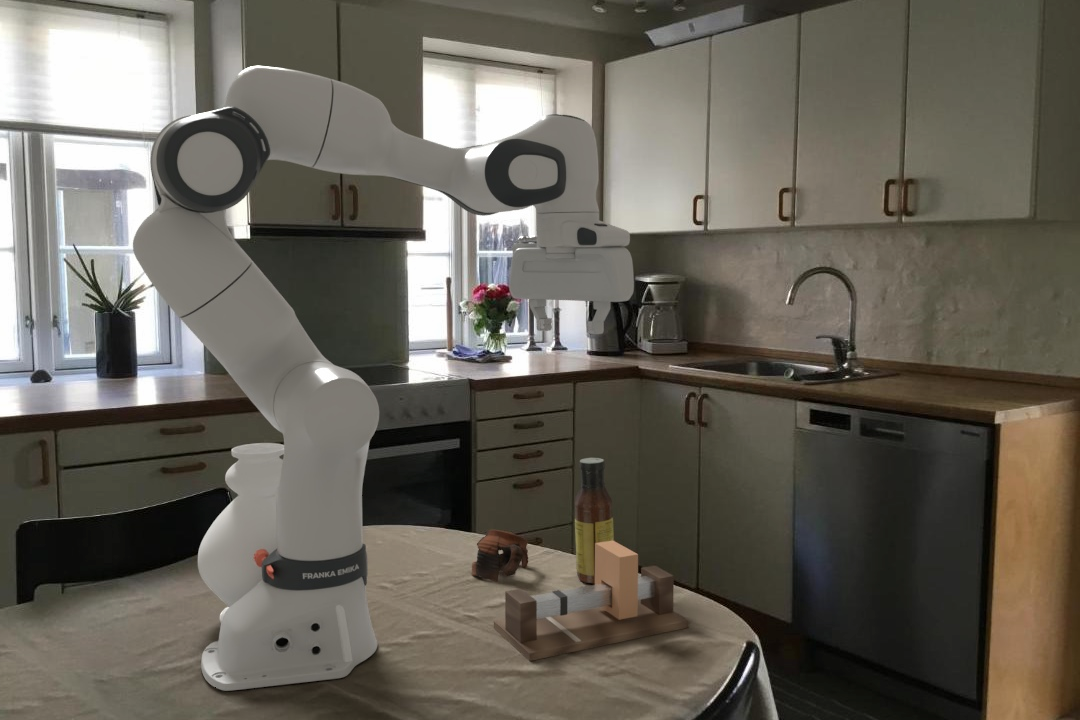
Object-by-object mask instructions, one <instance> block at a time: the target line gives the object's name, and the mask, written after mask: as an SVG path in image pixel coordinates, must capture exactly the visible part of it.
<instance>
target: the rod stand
mask: <svg viewBox="0 0 1080 720" xmlns="http://www.w3.org/2000/svg"><path fill="white" fill-rule="evenodd" d="M674 578H675V577H674V575H673V574H671V573H670V572H668V571H666V570H664V569H662V568H660V567H658V566H657V565H655V564H654V565H650V566H643V567H641V568H640V576H638V609H637V616H635V617H630V618H625V619H620V620H619V619H617V618H616V617H614V616H613V615H612V614H610V613H609V612H607V611H606V610H604V609H603V608H601V607H604V606H609V605H612V586H610V585H608V584H607V583H602V584H597V585H595V584H592V585H586V586H581V587H575V588H568V589H563V590H559V589H557V590H553V591H552V592H547V593H542V594H536V595H530V594H528V593H527V592H526V591H525V590H523V589H522V588H518V589H517V588H516V589H513V590H512V589H511V590H506V591H505V592H504V594H505V595H504V599H505V604H504V605H505V607H504V609H505V611H504V612H505V614H504V615H505V616H504V617H505V618H503V619H502V618H501V619H497V620H493V629H494V630H496V632H498V633H499V634H500V635H501V636H502V637H503V638H504V639H505V640H506V641H507V642H509V643H510V644H511V645H512V646H513V647H514V649H516V650H517V651H518V652H519V653H520V654H522V655H523V656H524V657H525V659H527V661H529V662H530V661H535V660H541V659H546V658H551V657H554V656H559V655H565V654H569V653H574V652H578V651H583V650H589V649H593V648H597V647H601V646H607V645H612V644H616V643H621V642H626V641H631V640H635V639H640V638H645V637H649V636H654V635H658V634H659V635H660V634H663V633H669V632H674V631H679V630H682V629H687V628H689V624H690V621H689V619H687V618H685V617H683V616H682V615H680V614H679V613H677V612H676V611H674V589H675V588H674V582H675V581H674V580H675V579H674Z"/></svg>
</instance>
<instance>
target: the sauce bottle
mask: <svg viewBox="0 0 1080 720" xmlns="http://www.w3.org/2000/svg"><path fill="white" fill-rule="evenodd" d="M605 468H606V465H605V459H603V458H600V457H586V458H582V459H580V460H579V469H580V489H579V490H578V492H577V494H576V496H575V497H574V513H575V514H574V528H575V529H574V530H575V531H574V532H575V536H574V537H575V558H576V559H575V561H576V562H575V563H576V564H575V565H576V567H575V568H576V573H577V578H578V580H579V581H581V582H582V583H585V584H592V585H595V543H599V542H606V541H612V540H613V541H615V539H614V537H615V536H614V516H613V501H612V498H611V496H610V495H609V492H608V490H607V488H606V486H605V484H606V483H605V475H604V474H605V471H604V470H605Z"/></svg>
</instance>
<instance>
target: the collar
mask: <svg viewBox="0 0 1080 720" xmlns="http://www.w3.org/2000/svg"><path fill="white" fill-rule="evenodd" d="M638 577H639V554H638V553H636V552H634V551H633V550H631V549H629V548H627V547H626V546H623V545H622V544H620V543H619V542H616V541H615V540H614V541H613V540H612V541H606V542H599V543H595V584H594V585H597V584H602V583H607V584H608V585H610V586H612V605H609V606H604V607H601V608H603V609H604V610H606V611H607V612H609V613H610V614H612V615H613V616H614V617H616V618H617V619H619V620H620V619H625V618H630V617H635V616H637V609H638Z"/></svg>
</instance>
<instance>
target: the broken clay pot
mask: <svg viewBox="0 0 1080 720" xmlns="http://www.w3.org/2000/svg"><path fill="white" fill-rule="evenodd" d="M484 533H485V535H484V536H483V537H482V538H481V539H480V540H478V542H477V543H476V546H477V549H478V550H477V553H476V554H477V557H476V558H477V559H476V560H475V561H473V562H472V565H471V576H475V577H480V578H481V579H485V580H491V581H493V582H498V581H499V579H500V578H499V577H500V574H501V572H502V574H503V575H504V576H506V577H511V576H514V575H516V573H517V570H518V567H519V565H520V564H521V568H523V567H524V568H527V567H528V564H529V555H528V553H529V552H528V551H529V550H528V548H527V547H528V546H527V545H528V543H529V541H528V540H527V539H525V538H524V537H522V536H521V535H517V534H515V533H513V532H509V531H504V530H498V529H486V530H485V532H484ZM499 551H502V553H499Z"/></svg>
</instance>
